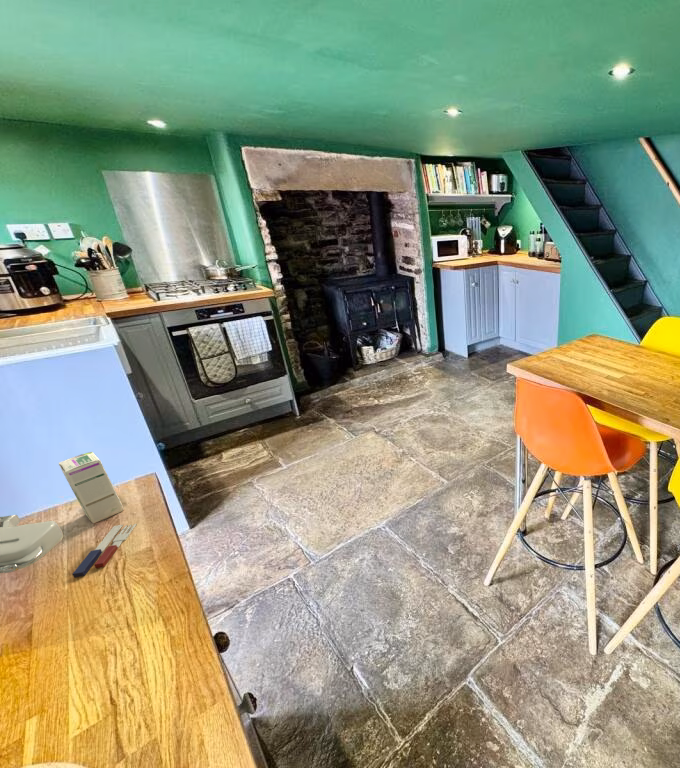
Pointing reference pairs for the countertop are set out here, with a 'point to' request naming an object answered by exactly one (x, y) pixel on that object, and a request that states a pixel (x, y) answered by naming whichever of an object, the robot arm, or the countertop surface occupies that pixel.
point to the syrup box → (91, 486)
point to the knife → (96, 553)
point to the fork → (114, 546)
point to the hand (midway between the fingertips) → (8, 519)
